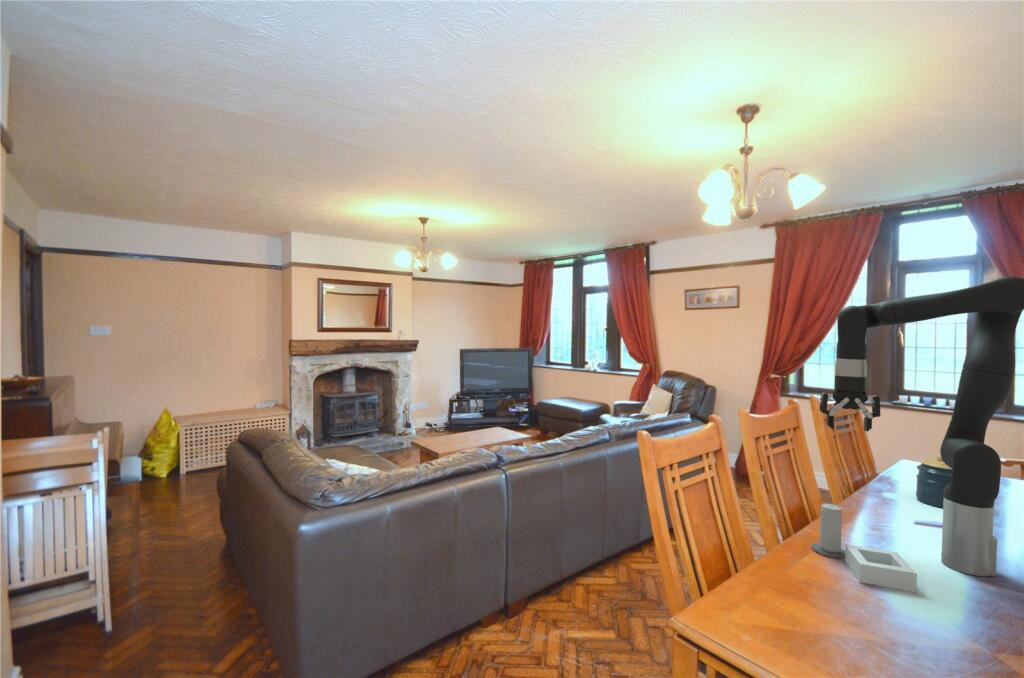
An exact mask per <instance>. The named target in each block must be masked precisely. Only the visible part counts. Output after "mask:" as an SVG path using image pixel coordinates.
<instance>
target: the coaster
mask: <svg viewBox="0 0 1024 678" xmlns="http://www.w3.org/2000/svg"><path fill="white" fill-rule="evenodd" d="M811 550H812V551H813V552H815V553H816V554H818V555H821V556H823V557H826V558H830V559H835V560H843V559H844V560H845V549H843V548H841V551H840V552H839V553H831V552H827V551H825V550H823V549H822V548H821V547H820V542H814V543H812V544H811Z"/></svg>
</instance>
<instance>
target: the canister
mask: <svg viewBox="0 0 1024 678" xmlns="http://www.w3.org/2000/svg"><path fill="white" fill-rule="evenodd" d="M919 463H921V464H919V465H917V466H916V468H917V470H918V474H916V475H915V476H916V491H915V497H916V500H917V501H919V502H921V503H922V504H926V505H929V506H930V507H931V506H932V507H936V508H941V509H943V502H944V488H945V487H946V486H947V485H950V484H951V480H952V468H950V467H948V466H947V465H946V464H945V463H944V462H943V460H942V458H941V455H940V453H939V454H937V455H936V457H925V458H924V459H920V460H919Z"/></svg>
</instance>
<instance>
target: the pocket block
mask: <svg viewBox="0 0 1024 678" xmlns="http://www.w3.org/2000/svg"><path fill="white" fill-rule="evenodd" d="M844 546H845V549H844V550H845V558H844V562H845V564H846V565H847V567H848V568H849V569H850V571H851V572H852V574H853V573H854V574H853V576H856V577H855V578H856V579H857V581H858V583H860V582H861V583H862V584H866V583H867V585H872V584H874V585H873V586H877V585H878V587H883V586H884V588H889V587H890V589H894V588H895V589H894V590H901V591H906V592H911V593H917V585H918V584H917V582H918V581H917V579H918V573H917V572H916V571H915V570H914V569H913V567H912V566H911V565H909V563H907V561H906V560H905V559H904V558H903V557H902V556H901V555H900V554H899V553H898V552H897V551H893V550H892V551H891V550H885V549H879V548H872V547H865V546H858V545H852V544H846V543H845V545H844Z"/></svg>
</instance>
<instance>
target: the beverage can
mask: <svg viewBox="0 0 1024 678" xmlns="http://www.w3.org/2000/svg"><path fill="white" fill-rule="evenodd" d="M819 520H820V522H819V523H820V525H819V526H820V527H819V530H820V532H819V543H820V547H821V548H822V549H823V550H825V551H827V552H831V553H839V552H840V551H841V549H842V530H843V529H842V528H843V510H842V507H841V506H839V505H837V504H832V503H821V506H820V519H819Z"/></svg>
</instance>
